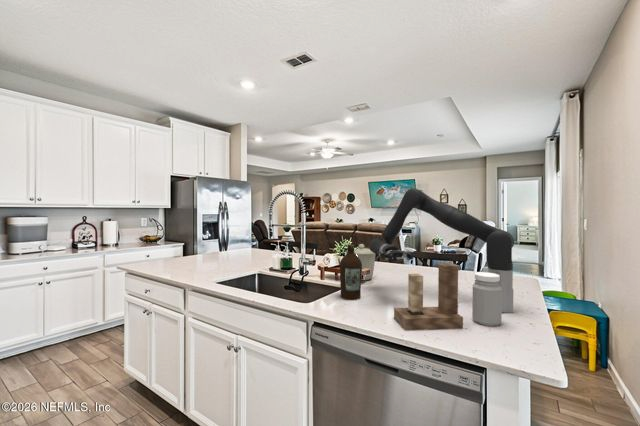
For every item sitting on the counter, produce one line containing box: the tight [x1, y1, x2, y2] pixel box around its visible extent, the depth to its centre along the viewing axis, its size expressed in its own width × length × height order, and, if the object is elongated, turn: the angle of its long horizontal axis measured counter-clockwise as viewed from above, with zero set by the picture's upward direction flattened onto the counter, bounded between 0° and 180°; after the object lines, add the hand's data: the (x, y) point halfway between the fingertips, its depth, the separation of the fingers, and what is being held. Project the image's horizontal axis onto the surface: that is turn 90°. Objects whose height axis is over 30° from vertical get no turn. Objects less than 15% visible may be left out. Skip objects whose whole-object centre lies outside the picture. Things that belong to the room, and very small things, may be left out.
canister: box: [354, 243, 376, 281], centre depth 187 cm, size 18×18×21 cm
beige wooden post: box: [407, 273, 424, 315], centre depth 114 cm, size 4×4×18 cm
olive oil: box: [339, 244, 362, 301], centre depth 148 cm, size 11×11×25 cm
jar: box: [471, 271, 503, 327], centre depth 116 cm, size 10×10×18 cm
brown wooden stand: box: [393, 262, 464, 331], centre depth 114 cm, size 22×12×22 cm, turn 95°
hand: (401, 257), depth 129 cm, fingers open, 8 cm apart
